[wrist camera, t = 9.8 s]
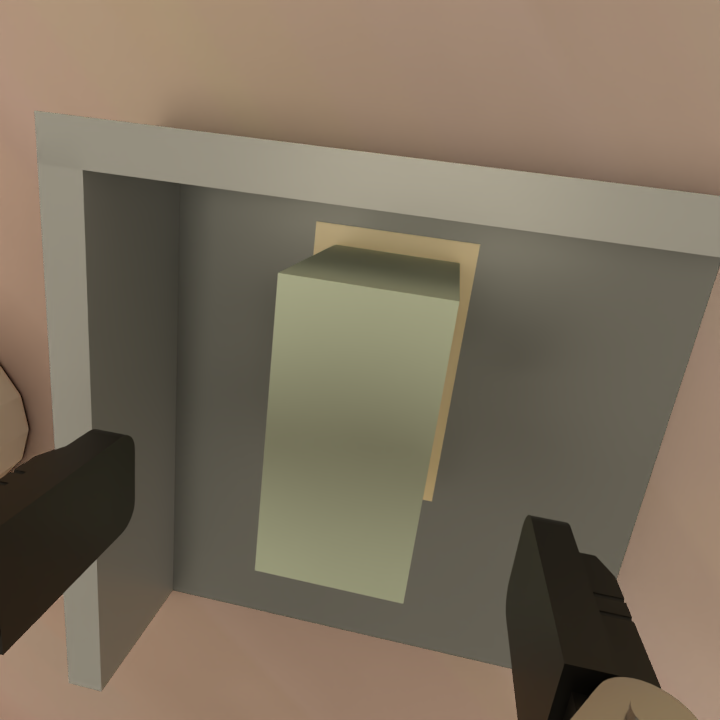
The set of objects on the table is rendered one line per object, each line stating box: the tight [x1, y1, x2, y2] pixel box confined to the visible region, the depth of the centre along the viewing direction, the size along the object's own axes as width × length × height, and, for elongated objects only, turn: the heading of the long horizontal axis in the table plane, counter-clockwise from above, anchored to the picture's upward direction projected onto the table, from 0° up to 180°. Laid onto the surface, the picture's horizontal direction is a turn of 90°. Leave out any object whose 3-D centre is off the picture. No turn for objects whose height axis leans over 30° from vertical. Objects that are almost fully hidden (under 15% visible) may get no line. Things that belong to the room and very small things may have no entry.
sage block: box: [255, 245, 460, 604], centre depth 16 cm, size 4×8×6 cm, turn 173°
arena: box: [34, 111, 720, 691], centre depth 18 cm, size 18×18×6 cm
